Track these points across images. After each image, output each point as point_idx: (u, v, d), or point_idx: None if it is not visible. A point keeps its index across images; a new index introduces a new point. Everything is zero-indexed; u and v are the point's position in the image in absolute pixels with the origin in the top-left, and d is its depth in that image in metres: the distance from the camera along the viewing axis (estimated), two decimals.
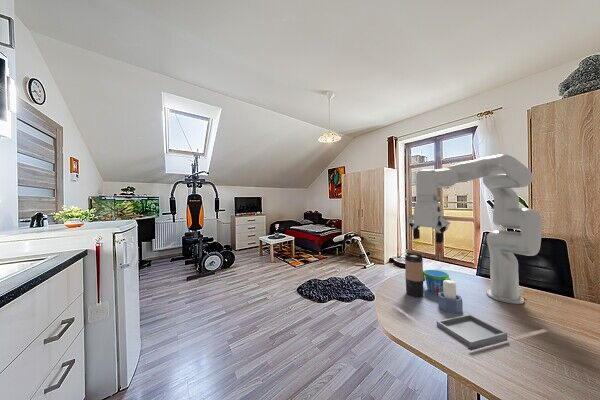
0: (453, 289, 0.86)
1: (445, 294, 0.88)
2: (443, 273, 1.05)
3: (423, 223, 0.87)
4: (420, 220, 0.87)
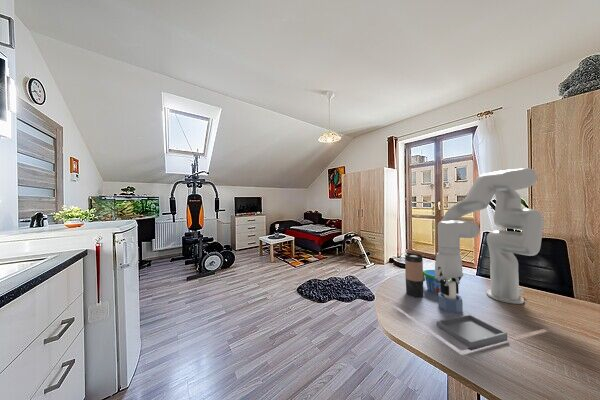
0: (453, 289, 0.86)
1: None
2: None
3: (453, 275, 0.87)
4: (452, 272, 0.86)
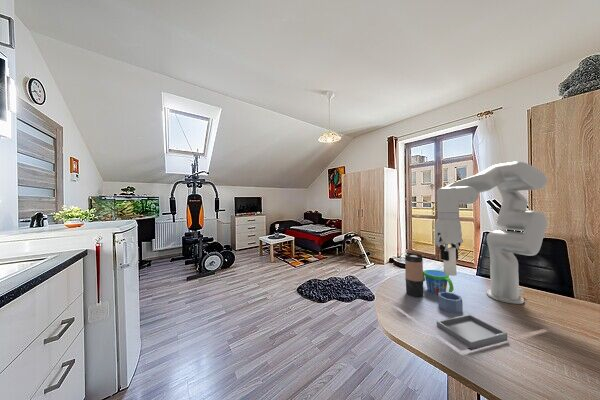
0: (453, 254, 0.87)
1: (445, 260, 0.88)
2: (443, 273, 1.05)
3: (452, 240, 0.87)
4: (451, 237, 0.86)
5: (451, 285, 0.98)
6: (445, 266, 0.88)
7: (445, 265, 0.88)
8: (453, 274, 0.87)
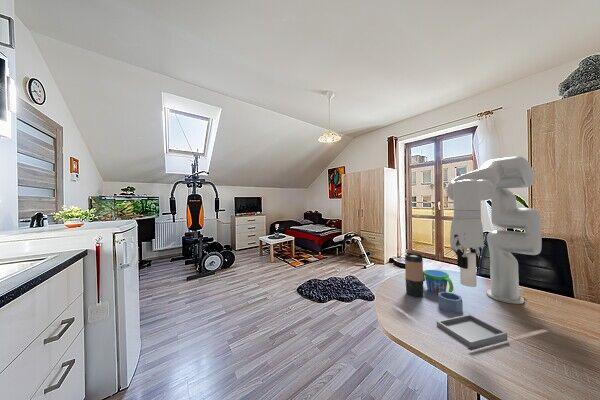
0: (473, 260, 0.71)
1: (462, 268, 0.73)
2: (443, 273, 1.05)
3: (472, 244, 0.72)
4: (471, 241, 0.71)
5: (451, 285, 0.98)
6: (463, 275, 0.73)
7: (463, 274, 0.73)
8: (473, 285, 0.71)
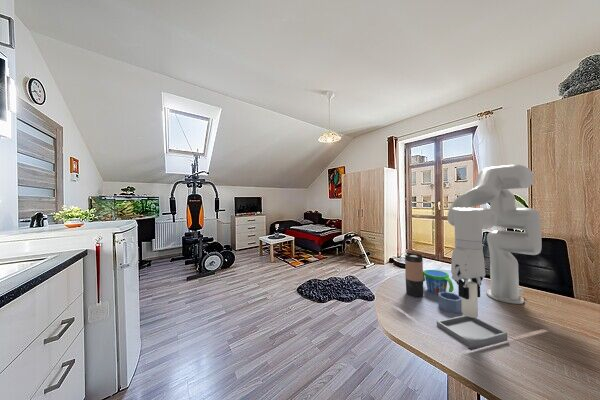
0: (474, 291, 0.71)
1: None
2: (443, 273, 1.05)
3: (473, 274, 0.71)
4: (472, 271, 0.70)
5: (451, 285, 0.98)
6: (464, 305, 0.73)
7: (464, 304, 0.73)
8: (474, 316, 0.71)
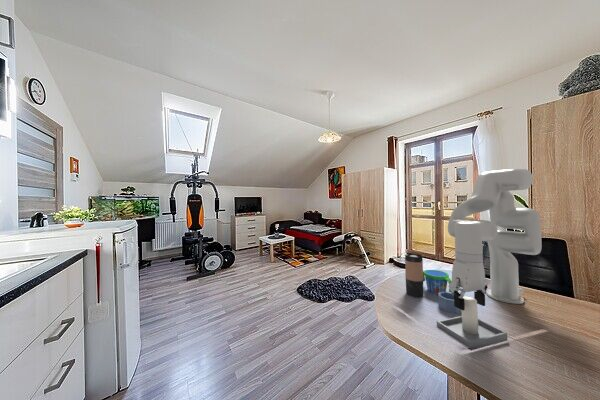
0: (474, 308, 0.71)
1: (464, 314, 0.73)
2: (443, 273, 1.05)
3: (474, 287, 0.71)
4: (473, 284, 0.71)
5: None
6: (464, 322, 0.73)
7: (464, 320, 0.73)
8: (475, 333, 0.71)
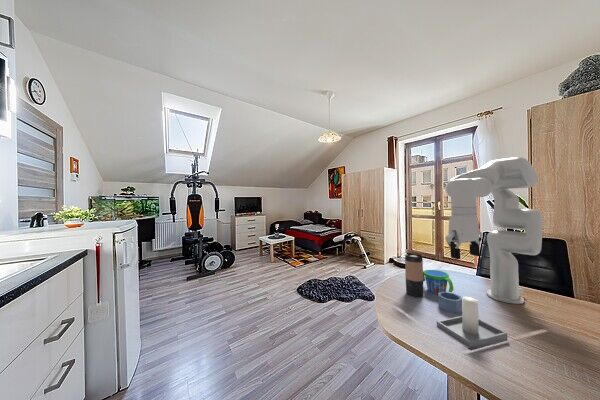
0: (475, 309, 0.71)
1: (464, 314, 0.73)
2: (443, 273, 1.05)
3: (469, 239, 0.77)
4: (468, 235, 0.76)
5: (451, 285, 0.98)
6: (464, 322, 0.73)
7: (464, 321, 0.73)
8: (474, 333, 0.71)
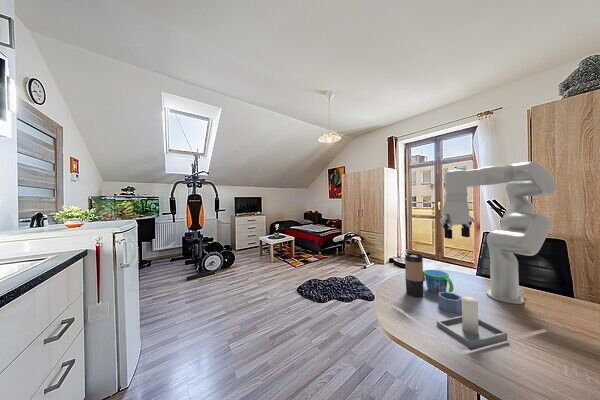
0: (474, 309, 0.71)
1: (464, 314, 0.73)
2: (443, 273, 1.05)
3: (460, 221, 0.89)
4: (459, 218, 0.89)
5: (451, 285, 0.98)
6: (464, 322, 0.73)
7: (464, 320, 0.73)
8: (474, 333, 0.71)
